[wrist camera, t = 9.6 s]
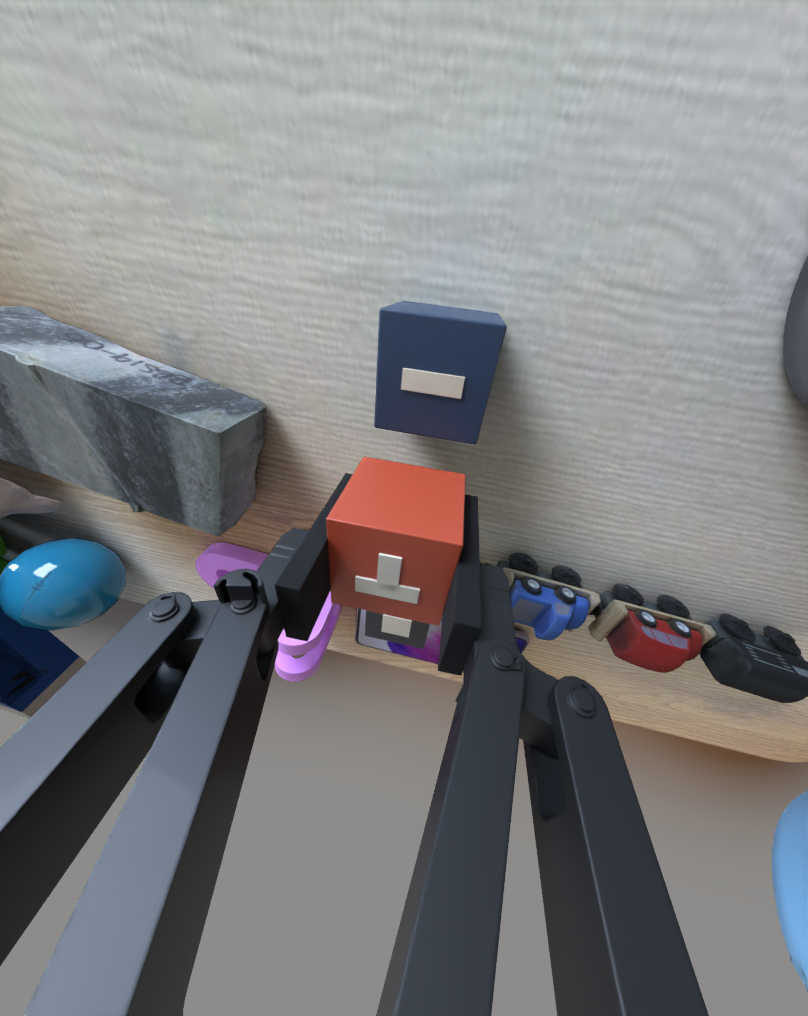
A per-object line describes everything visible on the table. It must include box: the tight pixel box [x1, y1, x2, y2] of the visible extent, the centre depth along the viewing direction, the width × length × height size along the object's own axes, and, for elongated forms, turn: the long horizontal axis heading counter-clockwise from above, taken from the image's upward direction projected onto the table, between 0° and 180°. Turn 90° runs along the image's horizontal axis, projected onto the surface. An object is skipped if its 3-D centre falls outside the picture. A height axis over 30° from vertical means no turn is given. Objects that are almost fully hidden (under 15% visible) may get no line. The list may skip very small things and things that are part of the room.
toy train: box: [485, 553, 808, 703], centre depth 21 cm, size 4×22×5 cm, turn 77°
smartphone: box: [355, 609, 529, 671], centre depth 29 cm, size 7×1×15 cm
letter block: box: [326, 457, 465, 626], centre depth 13 cm, size 4×4×5 cm
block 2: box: [374, 301, 507, 444], centre depth 14 cm, size 4×4×5 cm
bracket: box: [195, 542, 341, 682], centre depth 26 cm, size 13×6×7 cm, turn 79°
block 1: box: [365, 610, 430, 649], centre depth 24 cm, size 4×4×5 cm
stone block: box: [0, 306, 267, 536], centre depth 19 cm, size 9×14×5 cm, turn 70°
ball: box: [0, 538, 126, 630], centre depth 28 cm, size 8×8×8 cm
